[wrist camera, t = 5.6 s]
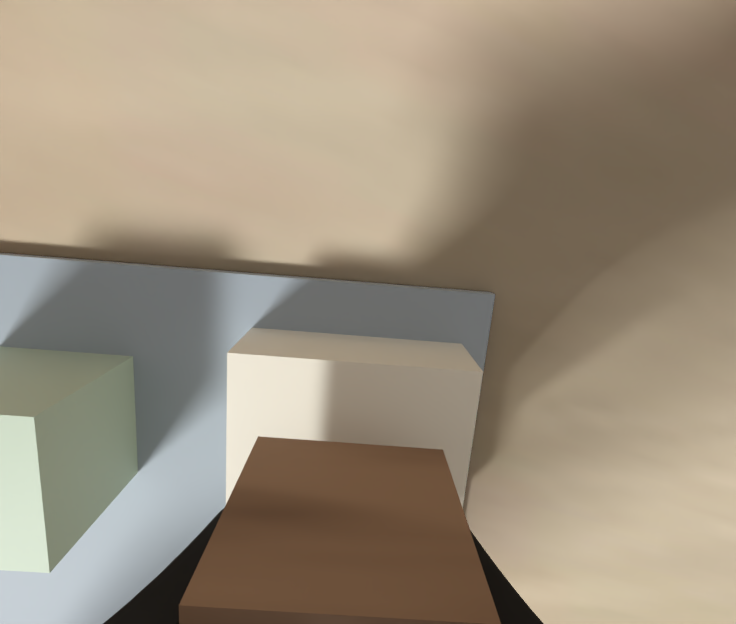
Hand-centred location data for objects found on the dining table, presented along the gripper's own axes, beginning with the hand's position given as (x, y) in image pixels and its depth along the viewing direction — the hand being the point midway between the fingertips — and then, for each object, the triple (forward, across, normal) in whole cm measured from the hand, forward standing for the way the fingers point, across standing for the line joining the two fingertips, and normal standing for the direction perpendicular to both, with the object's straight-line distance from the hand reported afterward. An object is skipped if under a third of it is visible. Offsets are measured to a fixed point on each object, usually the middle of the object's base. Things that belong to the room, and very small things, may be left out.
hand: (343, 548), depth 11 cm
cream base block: (+6, 0, 0) cm, 6 cm away
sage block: (+6, +11, 0) cm, 13 cm away
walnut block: (+1, 0, 0) cm, 1 cm away
